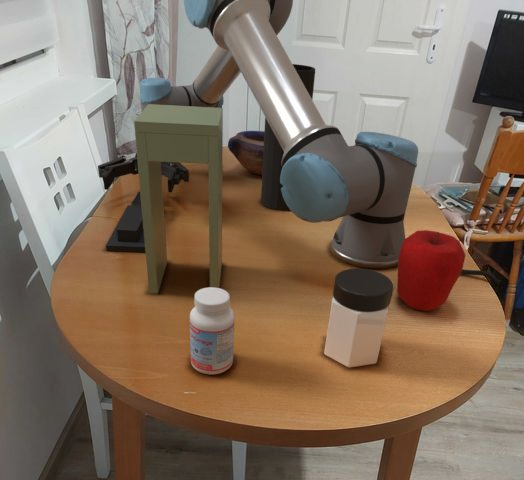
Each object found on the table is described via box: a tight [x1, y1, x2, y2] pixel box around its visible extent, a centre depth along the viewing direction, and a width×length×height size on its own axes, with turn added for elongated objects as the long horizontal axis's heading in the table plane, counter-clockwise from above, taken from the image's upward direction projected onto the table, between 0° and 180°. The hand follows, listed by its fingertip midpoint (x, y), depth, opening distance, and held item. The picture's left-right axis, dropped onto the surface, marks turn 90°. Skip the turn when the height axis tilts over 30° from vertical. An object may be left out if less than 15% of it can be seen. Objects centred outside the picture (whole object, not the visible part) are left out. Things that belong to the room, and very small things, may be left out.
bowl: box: [227, 130, 265, 176], centre depth 146 cm, size 18×18×10 cm
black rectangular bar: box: [117, 191, 144, 242], centre depth 111 cm, size 22×4×2 cm, turn 0°
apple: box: [396, 229, 466, 312], centre depth 87 cm, size 11×10×14 cm
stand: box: [133, 104, 224, 295], centre depth 87 cm, size 12×12×28 cm
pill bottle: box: [189, 286, 235, 375], centre depth 71 cm, size 6×6×11 cm
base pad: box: [105, 204, 146, 253], centre depth 111 cm, size 22×8×1 cm, turn 1°
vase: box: [260, 63, 316, 211], centre depth 120 cm, size 10×10×30 cm
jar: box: [323, 267, 394, 369], centre depth 75 cm, size 9×8×12 cm
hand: (137, 184), depth 110 cm, fingers open, 13 cm apart
